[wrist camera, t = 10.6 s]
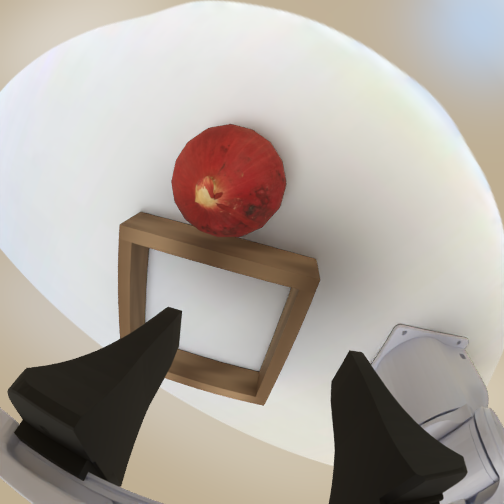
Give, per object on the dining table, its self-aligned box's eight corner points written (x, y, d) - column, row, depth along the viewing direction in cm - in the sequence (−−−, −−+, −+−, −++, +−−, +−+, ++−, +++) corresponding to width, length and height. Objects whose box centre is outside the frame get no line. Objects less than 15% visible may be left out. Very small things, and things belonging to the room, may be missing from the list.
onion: (304, 166, 17) (317, 188, 10) (249, 232, 19) (224, 294, 12) (231, 110, 16) (189, 93, 9) (180, 180, 19) (117, 211, 11)
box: (316, 259, 20) (320, 279, 17) (266, 381, 25) (263, 405, 22) (140, 211, 20) (119, 224, 17) (135, 341, 25) (122, 361, 22)
